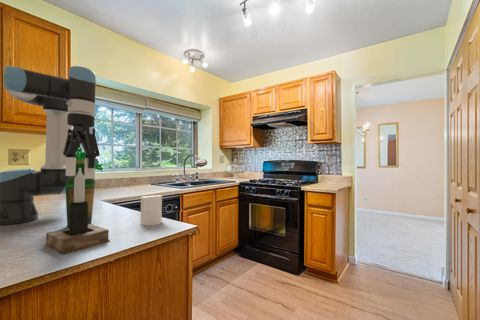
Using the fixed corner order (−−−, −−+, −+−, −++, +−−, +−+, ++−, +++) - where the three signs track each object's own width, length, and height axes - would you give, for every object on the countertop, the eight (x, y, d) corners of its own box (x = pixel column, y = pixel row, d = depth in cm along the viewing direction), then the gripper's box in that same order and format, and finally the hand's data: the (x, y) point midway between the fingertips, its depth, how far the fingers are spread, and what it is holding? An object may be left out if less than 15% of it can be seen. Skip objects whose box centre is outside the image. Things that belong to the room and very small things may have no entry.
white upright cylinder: (156, 219, 108) (157, 194, 108) (164, 222, 102) (165, 196, 102) (137, 222, 102) (137, 196, 102) (145, 226, 95) (145, 198, 95)
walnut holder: (44, 245, 73) (45, 232, 73) (90, 234, 84) (90, 223, 84) (62, 254, 66) (62, 241, 66) (109, 241, 77) (109, 229, 77)
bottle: (78, 229, 89) (80, 160, 90) (57, 227, 91) (58, 159, 92) (100, 222, 100) (101, 160, 100) (80, 220, 102) (82, 159, 102)
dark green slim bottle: (68, 240, 76) (70, 167, 76) (86, 237, 79) (88, 167, 79) (68, 245, 72) (70, 167, 72) (87, 242, 75) (89, 167, 75)
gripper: (52, 115, 79) (50, 175, 79) (87, 108, 66) (85, 180, 66) (77, 119, 85) (75, 174, 85) (112, 113, 72) (110, 179, 72)
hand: (79, 177), depth 75 cm, fingers open, 13 cm apart
